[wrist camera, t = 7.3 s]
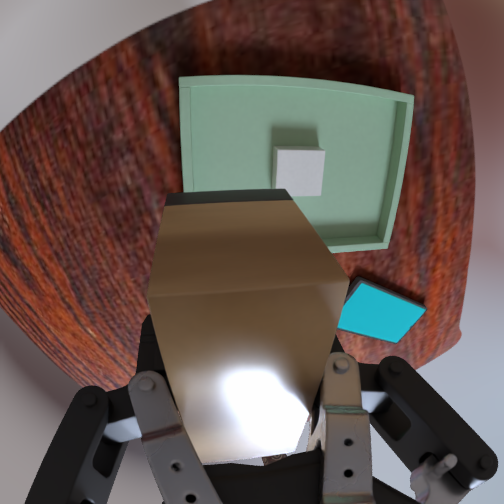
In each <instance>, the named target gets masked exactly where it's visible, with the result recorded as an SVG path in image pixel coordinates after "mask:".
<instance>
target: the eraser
mask: <svg viewBox="0 0 504 504" xmlns="http://www.w3.org/2000/svg"><path fill="white" fill-rule="evenodd" d="M349 282H350V280H349V278H348V276H347V275H346V273H345V272H344V270H343V269H342V267H341V266H340V264H339V263H338V262H337V260H336V259H335V257H334V256H333V254H332V253H331V251H330V250H329V249H328V247H327V246H326V244H325V243H324V241H323V240H322V239H321V237H320V236H319V234H318V233H317V232H316V230H315V229H314V227H313V226H312V225H311V223H310V222H309V221H308V219H307V218H306V216H305V215H304V214H303V212H302V211H301V210H300V208H299V207H298V205H297V204H296V203H295V201H293V198H292V197H291V196H290V194H289V193H288V192H287V190H286V189H244V190H219V191H200V192H183V193H168V194H167V198H166V202H165V206H164V211H163V215H162V220H161V224H160V229H159V233H158V238H157V243H156V248H155V253H154V258H153V263H152V268H151V273H150V279H149V285H148V290H147V301H148V305H149V309H150V314H151V318H152V322H153V326H154V330H155V334H156V338H157V341H158V345H159V349H160V353H161V356H162V360H163V363H164V367H165V370H166V374H167V377H168V380H169V384H170V387H171V390H172V393H173V396H174V399H175V402H176V406H177V409H178V412H179V415H180V417H181V420H182V423H183V425H184V427H185V429H186V431H187V433H188V435H189V438H190V440H191V442H192V444H193V446H194V448H195V451H196V453H197V455H198V457H199V459H200V461H201V463H207V462H208V463H209V462H222V461H233V460H242V459H250V458H259V457H266V456H272V455H278V454H284V453H290V452H294V451H295V450H296V447H297V445H298V442H299V440H300V438H301V435H302V432H303V430H304V427H305V424H306V422H307V419H308V416H309V414H310V411H311V408H312V405H313V403H314V400H315V397H316V394H317V391H318V388H319V385H320V382H321V379H322V376H323V373H324V370H325V367H326V364H327V361H328V357H329V354H330V351H331V348H332V344H333V341H334V338H335V334H336V331H337V327H338V324H339V320H340V317H341V313H342V309H343V305H344V302H345V298H346V294H347V290H348V286H349Z"/></svg>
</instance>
